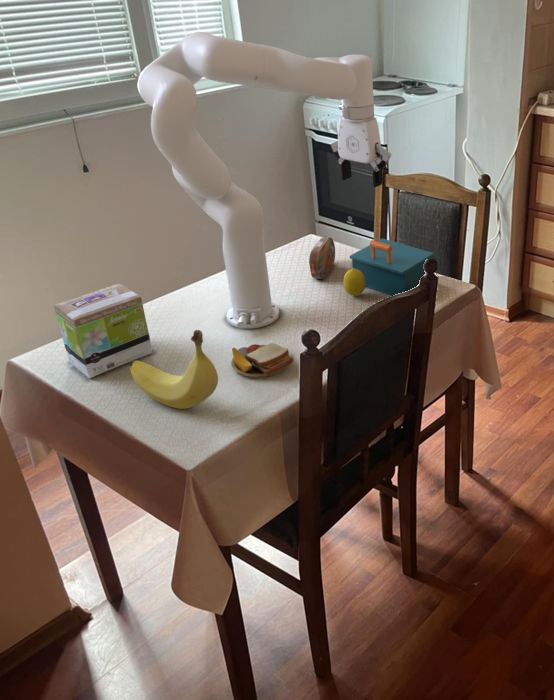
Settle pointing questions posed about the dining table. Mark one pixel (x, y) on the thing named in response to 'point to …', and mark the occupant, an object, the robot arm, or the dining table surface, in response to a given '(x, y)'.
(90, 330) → the tea box
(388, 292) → the box
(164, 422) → the dining table surface
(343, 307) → the dining table surface
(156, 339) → the dining table surface
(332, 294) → the dining table surface
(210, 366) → the banana
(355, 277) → the lemon
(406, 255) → the lunchbox lid
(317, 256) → the tin
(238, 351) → the toy sandwich meal
